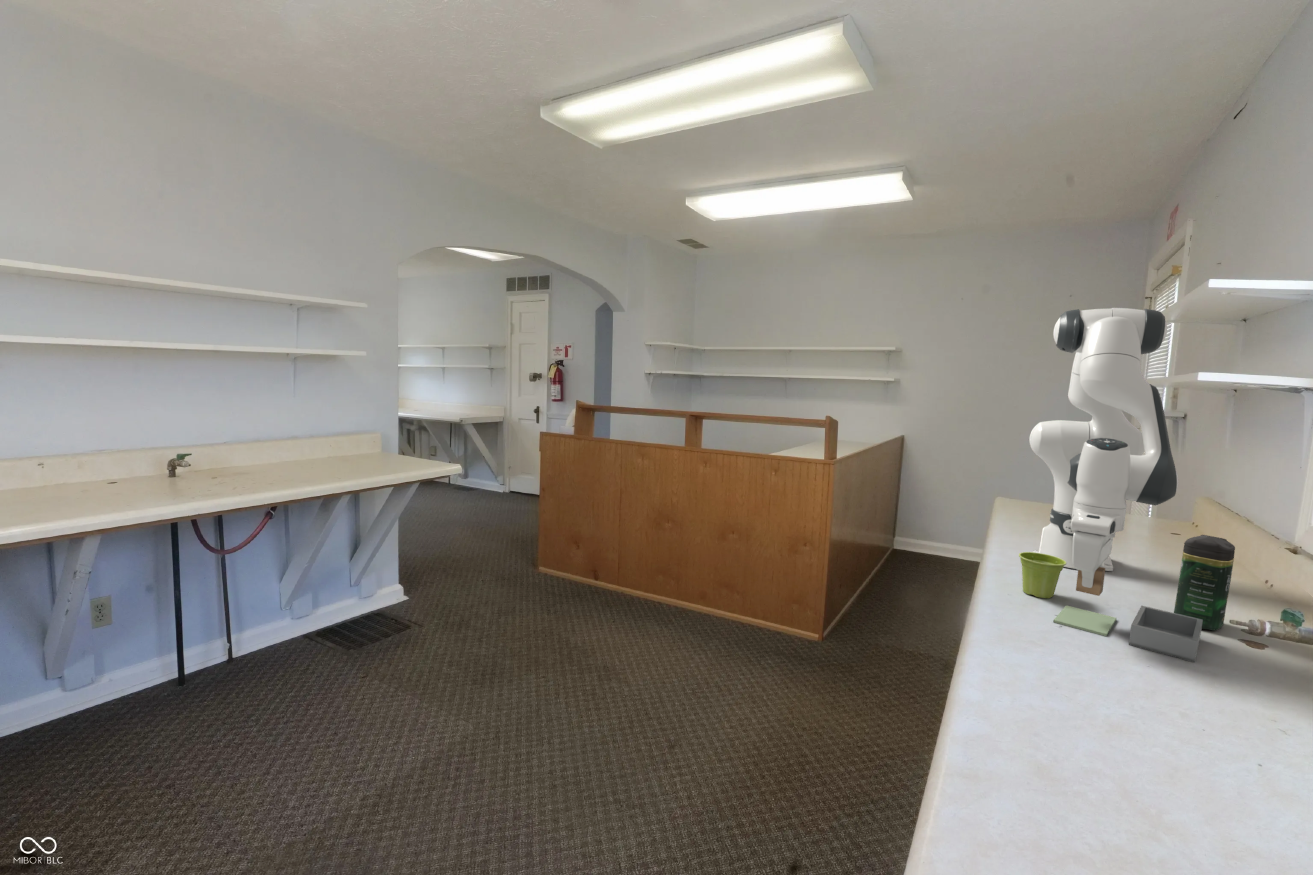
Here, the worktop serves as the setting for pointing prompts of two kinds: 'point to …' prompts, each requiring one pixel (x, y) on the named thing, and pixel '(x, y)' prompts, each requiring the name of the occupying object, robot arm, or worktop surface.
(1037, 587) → the plant pot
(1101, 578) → the walnut block
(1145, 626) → the grey bin
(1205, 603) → the coffee jar
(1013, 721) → the worktop surface
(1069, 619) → the olive mat
